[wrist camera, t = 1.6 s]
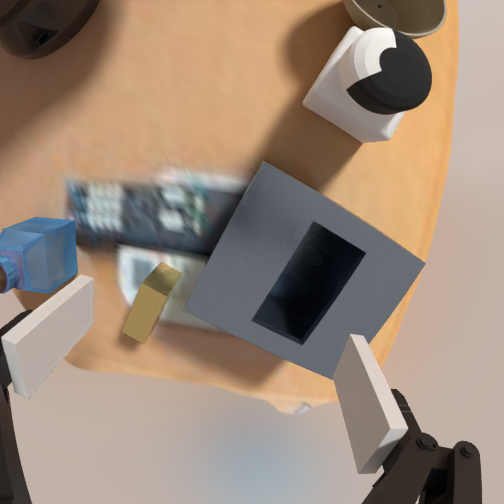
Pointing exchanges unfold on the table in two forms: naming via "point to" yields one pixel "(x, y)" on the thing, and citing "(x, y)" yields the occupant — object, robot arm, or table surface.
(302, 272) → the coin box
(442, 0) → the flower pot
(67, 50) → the table surface
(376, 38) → the medicine bottle
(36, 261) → the perfume bottle
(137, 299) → the block
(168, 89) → the table surface
